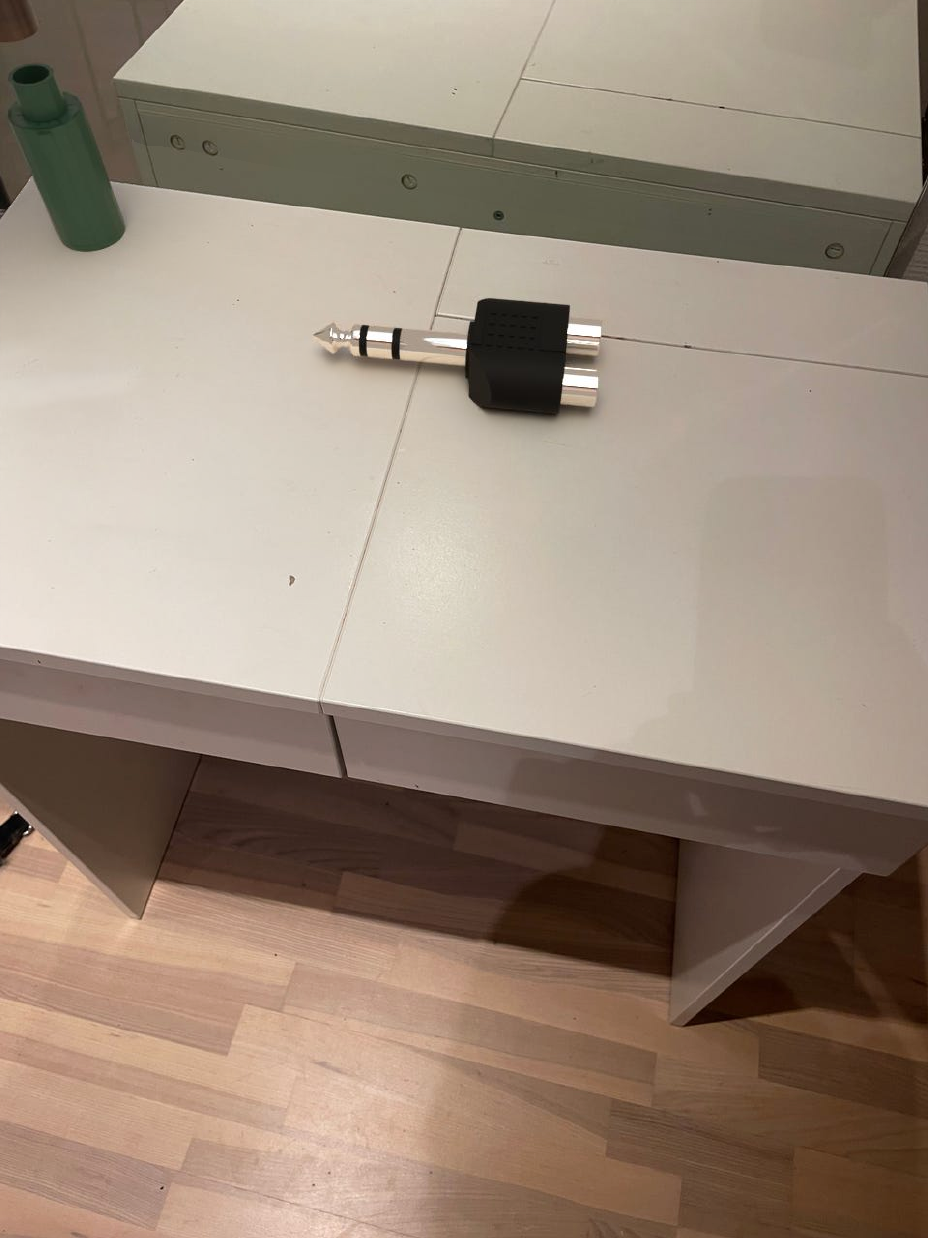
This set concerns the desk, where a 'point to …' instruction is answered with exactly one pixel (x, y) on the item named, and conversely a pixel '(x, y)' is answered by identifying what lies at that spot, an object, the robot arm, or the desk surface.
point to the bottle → (63, 159)
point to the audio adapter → (495, 353)
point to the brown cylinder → (17, 20)
